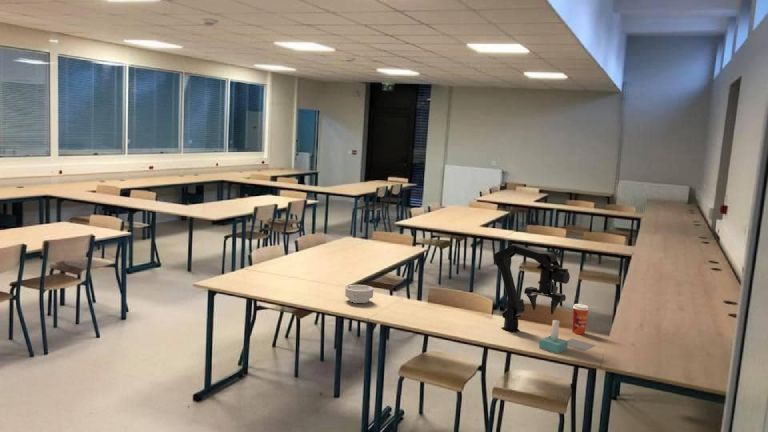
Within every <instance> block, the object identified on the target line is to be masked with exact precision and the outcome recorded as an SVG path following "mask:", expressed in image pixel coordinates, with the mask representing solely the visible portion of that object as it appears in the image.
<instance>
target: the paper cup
mask: <svg viewBox="0 0 768 432" xmlns="http://www.w3.org/2000/svg"><path fill="white" fill-rule="evenodd" d="M572 308H573V310H572V327H571V328H572V333H573V334H575V335H580V336H581V335H585V331H586V326H587V321H588V314H589V311H590V308H589V306H588V305H586V304H582V303H574V304H573V306H572Z"/></svg>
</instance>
